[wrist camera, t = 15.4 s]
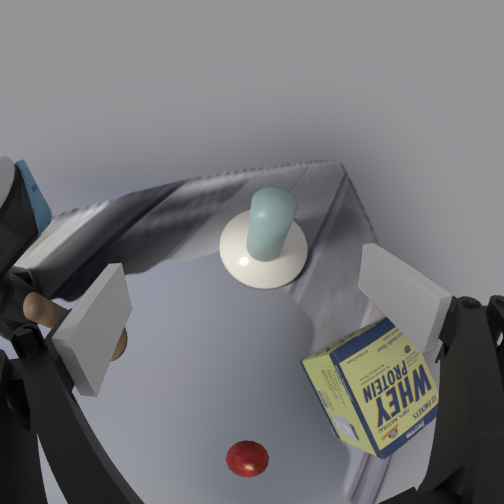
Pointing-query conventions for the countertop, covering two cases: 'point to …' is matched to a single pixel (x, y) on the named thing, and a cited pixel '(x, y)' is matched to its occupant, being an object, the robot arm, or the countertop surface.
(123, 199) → the countertop surface
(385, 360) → the protein box
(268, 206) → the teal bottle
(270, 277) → the cream plate
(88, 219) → the countertop surface
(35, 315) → the walnut post
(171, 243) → the countertop surface
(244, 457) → the red fruit
